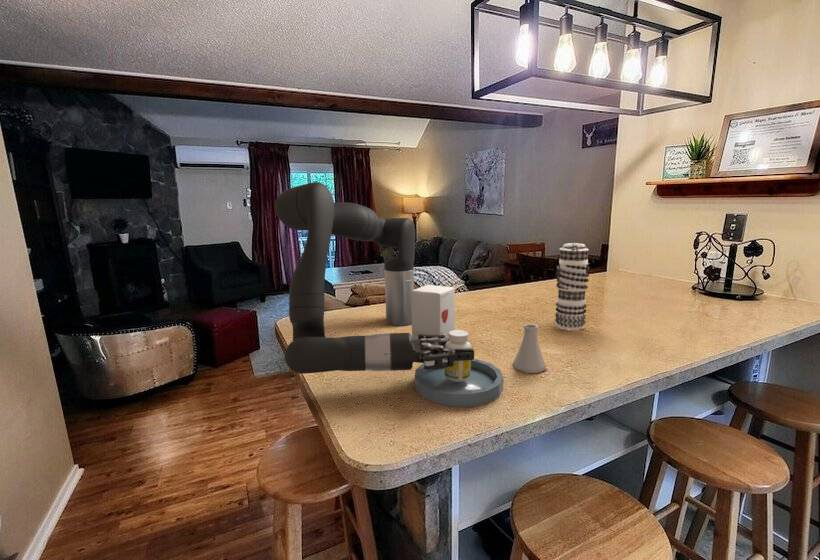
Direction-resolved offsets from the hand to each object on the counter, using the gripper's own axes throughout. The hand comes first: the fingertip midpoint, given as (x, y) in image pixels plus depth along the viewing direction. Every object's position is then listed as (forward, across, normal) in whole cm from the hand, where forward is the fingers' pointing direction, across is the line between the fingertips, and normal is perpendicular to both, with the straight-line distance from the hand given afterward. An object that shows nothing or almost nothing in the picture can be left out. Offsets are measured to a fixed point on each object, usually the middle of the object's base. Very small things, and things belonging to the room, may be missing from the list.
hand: (470, 348), depth 82 cm
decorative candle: (+39, +35, +8) cm, 53 cm away
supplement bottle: (-3, 0, +6) cm, 7 cm away
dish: (-2, 0, +8) cm, 8 cm away
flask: (+15, +7, +8) cm, 19 cm away
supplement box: (-4, +27, +8) cm, 29 cm away
